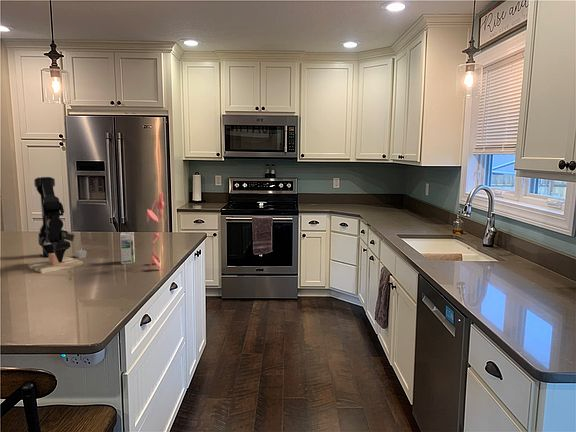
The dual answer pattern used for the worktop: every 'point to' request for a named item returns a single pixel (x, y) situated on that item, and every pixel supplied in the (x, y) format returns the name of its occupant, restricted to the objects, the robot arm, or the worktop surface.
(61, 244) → the robot arm
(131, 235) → the syrup box
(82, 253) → the short peg
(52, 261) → the tall peg
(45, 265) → the hole board
